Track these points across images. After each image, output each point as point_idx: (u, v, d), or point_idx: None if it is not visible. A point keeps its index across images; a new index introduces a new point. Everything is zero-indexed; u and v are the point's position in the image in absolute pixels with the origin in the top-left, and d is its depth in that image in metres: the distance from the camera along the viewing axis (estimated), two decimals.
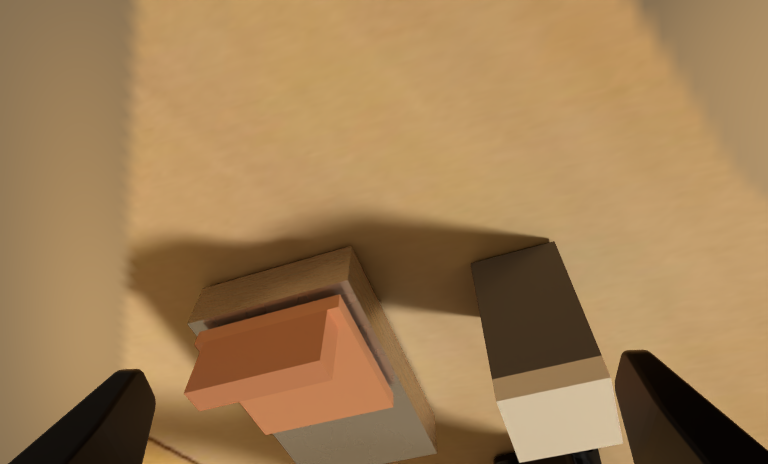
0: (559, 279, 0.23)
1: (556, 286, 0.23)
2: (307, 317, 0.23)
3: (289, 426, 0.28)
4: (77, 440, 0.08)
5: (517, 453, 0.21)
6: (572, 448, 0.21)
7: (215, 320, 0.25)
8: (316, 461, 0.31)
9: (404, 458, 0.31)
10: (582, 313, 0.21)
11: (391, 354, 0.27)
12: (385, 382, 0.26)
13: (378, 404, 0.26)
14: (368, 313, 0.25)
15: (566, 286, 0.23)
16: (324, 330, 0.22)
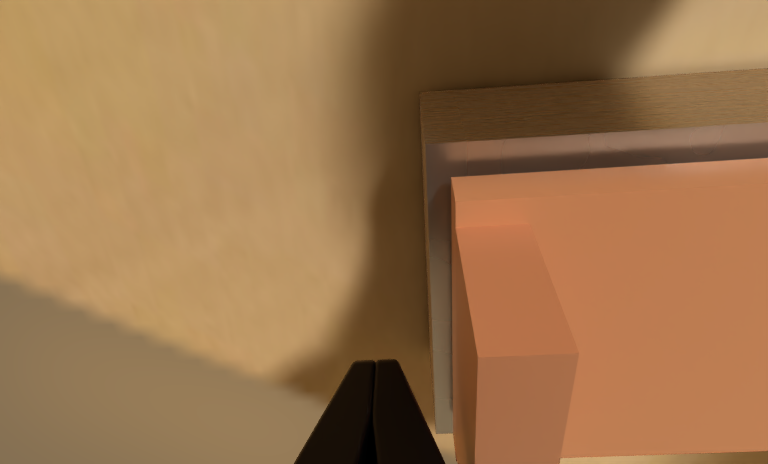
0: None
1: None
2: (456, 277, 0.09)
3: None
4: (358, 432, 0.08)
5: None
6: None
7: (445, 399, 0.13)
8: None
9: None
10: None
11: (750, 106, 0.09)
12: None
13: None
14: (566, 124, 0.09)
15: None
16: (466, 274, 0.08)
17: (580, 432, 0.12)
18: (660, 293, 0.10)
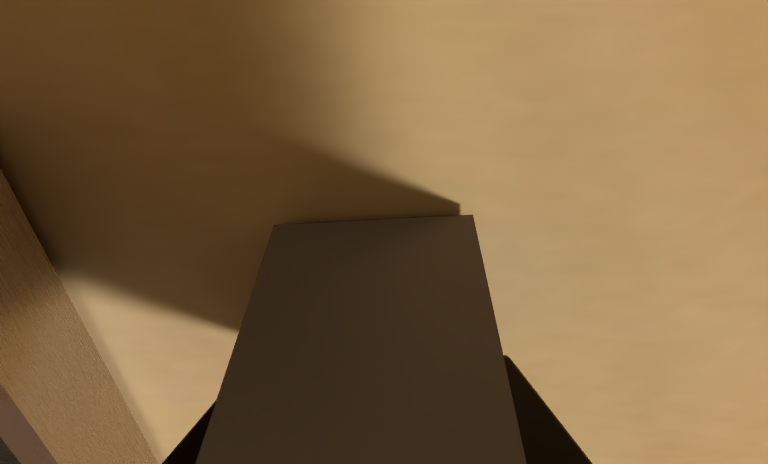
0: (466, 303, 0.09)
1: (455, 320, 0.08)
2: None
3: None
4: None
5: None
6: None
7: None
8: None
9: None
10: (512, 421, 0.07)
11: (49, 397, 0.11)
12: None
13: None
14: None
15: (481, 327, 0.08)
16: None
17: None
18: None
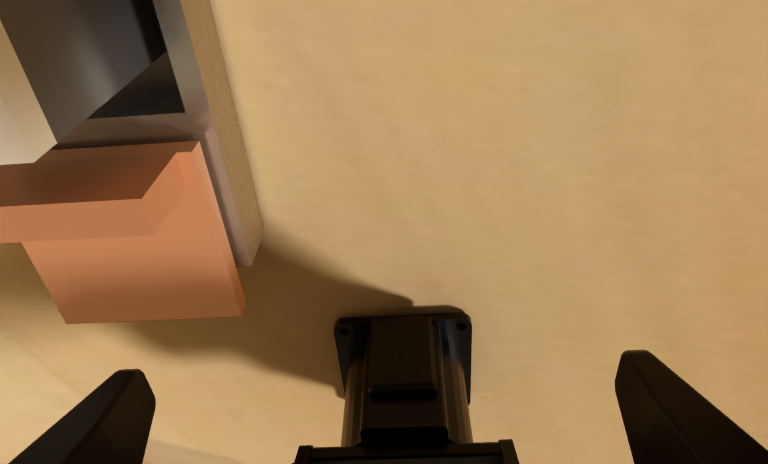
0: None
1: None
2: (146, 156, 0.17)
3: (101, 317, 0.21)
4: (77, 440, 0.08)
5: None
6: None
7: None
8: None
9: None
10: None
11: (205, 60, 0.17)
12: (238, 282, 0.21)
13: (223, 309, 0.21)
14: None
15: None
16: (162, 171, 0.16)
17: None
18: (159, 247, 0.19)
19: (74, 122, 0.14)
